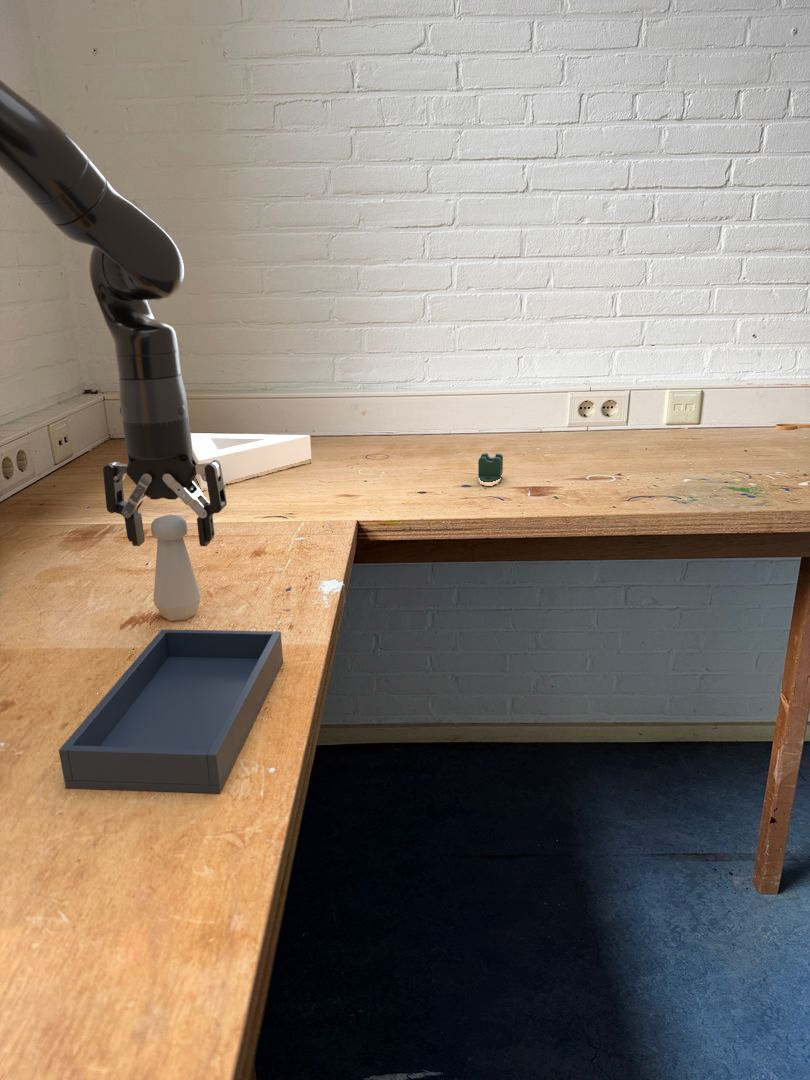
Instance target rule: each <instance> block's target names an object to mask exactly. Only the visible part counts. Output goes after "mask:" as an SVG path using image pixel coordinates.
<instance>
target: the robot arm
mask: <svg viewBox="0 0 810 1080" xmlns="http://www.w3.org/2000/svg"><path fill="white" fill-rule="evenodd" d="M0 169H1V170H2V171H3V172H4V173H5V174H6V175H7V176H8V177H9V178H10V179H11V180H12V181H13V182H14V183H15V184H16V185H17V186H18V187H19V189H20V190H21V191H22V192H23V193H24V194H25V195H26V196H27V197H28V198H29V200H30V201H31V202H32V203H33V204H34V205H35V206H36V207H37V208H38V209H39V210H40V211H41V213H43V214H44V215H45V217H46V218H47V219H48V221H50V222H51V223H52V224H53V226H55V227H56V228H57V230H59V231H60V232H61V233H62V234H63V235H64V236H65V237H67V238H68V239H70V240H72V241H74V242H77V243H81V244H86V245H89V246H92V249H91V252H90V255H89V263H88V273H89V279H90V283H91V287H92V290H93V293H94V295H95V298H96V301H97V304H98V306H99V309H100V311H101V314H102V317H103V319H104V322H105V324H106V327H107V329H108V331H109V333H110V335H111V338H112V341H113V343H114V354H115V361H116V368H117V375H118V376H117V377H118V399H119V405H120V406H119V412H120V415H121V420H122V427H123V434H124V441H125V449H126V454H127V457H128V462H127V463H121V462H120V461H119V460H113V461H111V462H109V463H108V464H106V465H104V466H103V469H102V473H103V485H104V495H105V505H106V510H107V512H108V513H110V514H114V513H115V514H118V515H120V516H122V517H123V519H124V525H125V530H126V537H127V540H128V541H129V542H131V544H132V546H133V547H140V546H142V545H143V544H144V543H145V540H146V539H145V530H144V523H143V516H142V513H141V512H140V513H139V510H140V509H141V507H142V506H143V504H144V502H145V501H146V500H147V498H150V499H149V500H160V499H166V500H177V499H178V498H179V499H180V500H181V501H182V502H183V504H184V505H186V506H188V507H190V508H191V509H192V511H193V512H194V513H195V514H196V516H198V517H197V518H196V523H197V531H198V532H197V534H198V541H199V546H200V547H208V545H209V544H210V543H211V541H212V540H213V539H214V537H215V533H216V532H215V525H214V517H213V515H214V514H218V513H220V512H221V511H222V510H223V509H224V508H225V507H227V505H228V501H227V497H226V496H227V495H226V489H225V486H224V483H223V476H222V470H221V464H220V462H219V461H217V460H214V461H212V462H211V463H204V464H197V463H196V462H195V460H194V458H193V451H192V441H191V433H192V432H191V425H190V417H189V415H190V414H189V407H188V398H187V397H188V396H187V391H186V388H185V383H184V379H183V373H182V366H181V365H182V364H181V357H180V347H179V341H178V335H177V332H176V330H175V329H174V327H173V326H171V325H170V324H168V323H166V322H164V321H160V320H159V319H157V318H155V316H154V314H153V311H152V310H151V307H150V305H149V302H148V301H161V300H166V299H169V298H171V297H173V296H174V295H176V294H177V293H178V292H179V291H180V289H181V288H182V286H183V283H184V281H185V280H184V279H185V265H184V261H183V256H182V255H181V254H182V253H181V252H180V250H179V248H178V247H177V245H176V243H175V242H174V241H173V239H172V238H171V237H170V235H168V233H167V232H166V231H165V230H164V229H163V228H162V227H161V226H160V225H159V224H157V222H155V221H153V220H152V218H150V217H149V216H148V215H146V214H145V213H144V212H143V211H142V210H140V209H139V208H138V207H137V206H135V204H134V203H132V202H130V201H129V200H128V199H127V198H125V197H123V196H122V194H119V192H117V191H116V190H115V189H114V188H113V187H112V185H111V184H110V183H109V182H108V180H107V179H106V177H105V176H104V175H103V174H102V172H101V171H100V170H99V169H98V168H97V166H96V165H95V164H94V163H93V162H92V160H91V159H90V158H89V157H88V156H87V154H86V153H85V152H84V150H83V149H82V148H81V147H80V146H79V144H77V143H76V141H74V139H72V137H71V136H70V135H69V134H68V133H67V131H65V130H64V129H63V128H62V127H61V126H60V125H58V124H57V122H55V121H54V120H53V119H51V118H50V117H49V116H48V115H46V114H45V113H44V112H43V111H42V110H40V109H39V108H38V107H36V106H35V105H34V104H33V103H31V102H30V101H28V100H27V99H26V98H25V97H23V96H22V95H21V94H19V93H18V92H16V91H15V90H14V89H13V88H11V86H9V85H8V84H6V83H5V82H4V80H2V79H0ZM197 473H198V474H200V475H201V477H202V479H203V480H204V481H205V482H207V487H208V490H207V493H208V498H209V500H208V498H207V497H206V496H205V495H204V494H203V493H204V492H202V491H201V489H200V487H199V485H198V484H197V483H196V482H195V481H194V480H195V479H196V478H195V476H196V475H197ZM127 476H128V477H129V479H130V480H131V481H132V482H133V483H134V484H135V485H136V486H135V487H134V489H133V490H132V492H131V494H130V495H129V497H128V499H127V500H128V501H125V494H124V483H123V482H124V480H125V479H126V477H127Z"/></svg>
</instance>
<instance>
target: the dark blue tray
mask: <svg viewBox="0 0 810 1080" xmlns="http://www.w3.org/2000/svg"><path fill="white" fill-rule="evenodd" d="M283 663H284V656H283V642H282V632H281V631H280V630H279V631H278V630H277V631H276V630H275V631H273V630H228V629H227V630H224V629H223V630H222V629H220V630H219V629H170V628H169V629H167V628H166V629H165V628H163V629H161V630H160V631H159V632H158V633H157V634H156V636H155V637H154V638H153V639H152V640H151V641H150V642H149V643H148V645H147V646H146V647H145V648H144V650H142V652H141V653H140V654H139V655H138V657H136V659H135V660H134V661H133V662H132V664H131V665H130V666H129V667H128V668H127V669H126V670H125V672H124V673H123V674H122V675H121V676H120V677H119V679H118V680H117V681H116V682H115V684H114V685H113V686H112V687H111V688H110V689H109V691H107V693H106V694H105V695H104V696H103V698H102V699H101V700H100V701H99V702H98V703H97V704H96V706H95V707H94V708H93V709H92V710H91V711H90V713H89V714H88V715H87V716H86V718H85V719H84V720H83V721H82V722H81V723H80V725H79V726H78V727H77V728H76V729H75V730H74V731H73V732H72V734H71V735H70V736H69V737H68V739H66V741H65V742H64V743H63V744H62V745H61V746H60V748H59V749H58V754H59V755H58V756H59V760H60V765H61V771H62V776H63V783H64V787H65V788H66V789H83V790H84V789H85V790H86V789H87V790H111V791H112V790H113V791H114V790H115V791H138V792H139V791H143V792H171V793H195V794H221V793H222V790H223V789H224V786H225V785H226V782H227V781H228V778H229V776H230V774H231V772H232V770H233V767H234V765H235V763H236V761H237V759H238V757H239V755H240V753H241V751H242V749H243V747H244V744H245V743H246V740H247V738H248V736H249V734H250V732H251V729H252V728H253V725H254V724H255V722H256V720H257V718H258V715H259V713H260V711H261V709H262V707H263V705H264V703H265V700H266V698H267V697H268V694H269V692H270V691H271V688H272V687H273V684H274V682H275V679H276V678H277V676H278V673H279V671H280V669H281V667H282V666H283Z"/></svg>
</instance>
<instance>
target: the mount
mask: <svg viewBox="0 0 810 1080" xmlns="http://www.w3.org/2000/svg"><path fill="white" fill-rule="evenodd" d="M477 464H478V466H477V467H478V470H477V471H478V474H477V475H478V476H477V477H479V478H480V480H481V481H483V482H493V481H496V480H498V479H500V478H501V475H502V473H503V472H504V455H503V454H502V453H495V456H494V457H490V455H489V453H487V452H483V453H481V455H480V457H479V459H478V463H477Z"/></svg>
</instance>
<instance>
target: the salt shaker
mask: <svg viewBox="0 0 810 1080" xmlns="http://www.w3.org/2000/svg"><path fill="white" fill-rule="evenodd" d="M188 530H189V529H188V522H187V519H186V518H185V517H183V516H181V515H177V514H167V515H166V514H165V515H162V516H158V517H156V518H154V520H152V522H151V524H150V532H151V535H152V537H153V538H154V539H155V540H157V544H156V556H155V572H154V573H155V574H154V585H153V586H154V587H153V599H152V600H153V604H154V606H155V607H156V609H157V610H158V612H159V613H160V615H161V616H162V618H164V619H166V620H167V621H170V622H176V621H186V620H188V619H190V618H192V617H194V616H196V615H197V612H198V609H199V605H200V602H201V597H202V592H201V589H200V586H199V583H198V580H197V577H196V574H195V571H194V568H193V565H192V561H191V558H190V556H189V555H190V554H189V552H188V549H187V546H186V543H185V540H184V537H185V536H187V534H188Z"/></svg>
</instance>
